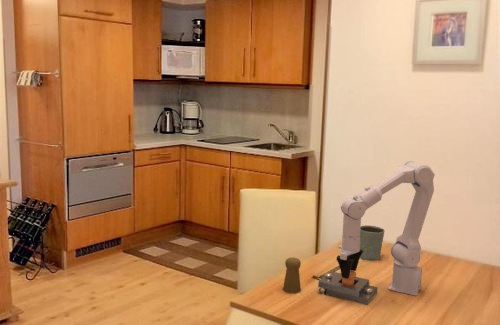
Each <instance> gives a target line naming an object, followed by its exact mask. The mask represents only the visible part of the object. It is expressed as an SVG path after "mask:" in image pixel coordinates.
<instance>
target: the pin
mask: <svg viewBox="0 0 500 325" xmlns="http://www.w3.org/2000/svg"><path fill="white" fill-rule="evenodd" d="M341 276H342V275H341ZM355 277H357V273H356V271H351V270H350V275H349V278H348V279H347V278H342V284H347V285H351V286H354V278H355Z"/></svg>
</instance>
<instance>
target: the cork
mask: <svg viewBox="0 0 500 325" xmlns="http://www.w3.org/2000/svg"><path fill="white" fill-rule="evenodd" d="M284 264H285V268H286V271H285V277H284V280H283V281H284V282H283V287H282V290H283V291H284V292H285V293H289V294H297V293H300V292H301V291H302V290H301V279H300V278H301V277H300V268H301V265H302V264H301V260H300V259H299V258H297V257H288V258H286V260H285V262H284Z"/></svg>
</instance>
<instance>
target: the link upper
mask: <svg viewBox="0 0 500 325" xmlns="http://www.w3.org/2000/svg"><path fill="white" fill-rule="evenodd" d="M329 271H330V270H329ZM325 273H326V272H325ZM369 285H370V279H368V278H365V277H360V276H359V277H358V276H356V277H355V278H354V286H351V285H347V284H342V276H341V272H336V271H335V272H332V271H330V272H329V273H326V274H325V276H324V277H323V278H322V279H320V281H319V280H318V285H317V287H318V288H319V289H318V292H319V293H320V294H324V293H325V292H327V289H329V290H333V291H337V292H341V293H345V294H349V295H354V296H358V297H359V296H360V295H361V294H362V293H363V291H364V290H365V288H367V287H368V286H369Z"/></svg>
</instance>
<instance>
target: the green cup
mask: <svg viewBox="0 0 500 325" xmlns="http://www.w3.org/2000/svg"><path fill="white" fill-rule="evenodd" d="M384 236H385V229H384V228H382V227H379V226H376V225H361V228H360V250H363V253H362V255H361V257H360V260H363V261H364V260H365V261H369V262H370V261H371V262H373V261H374V262H375V261H379V260H380V258H381V254H382V247H383V241H384Z"/></svg>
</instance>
